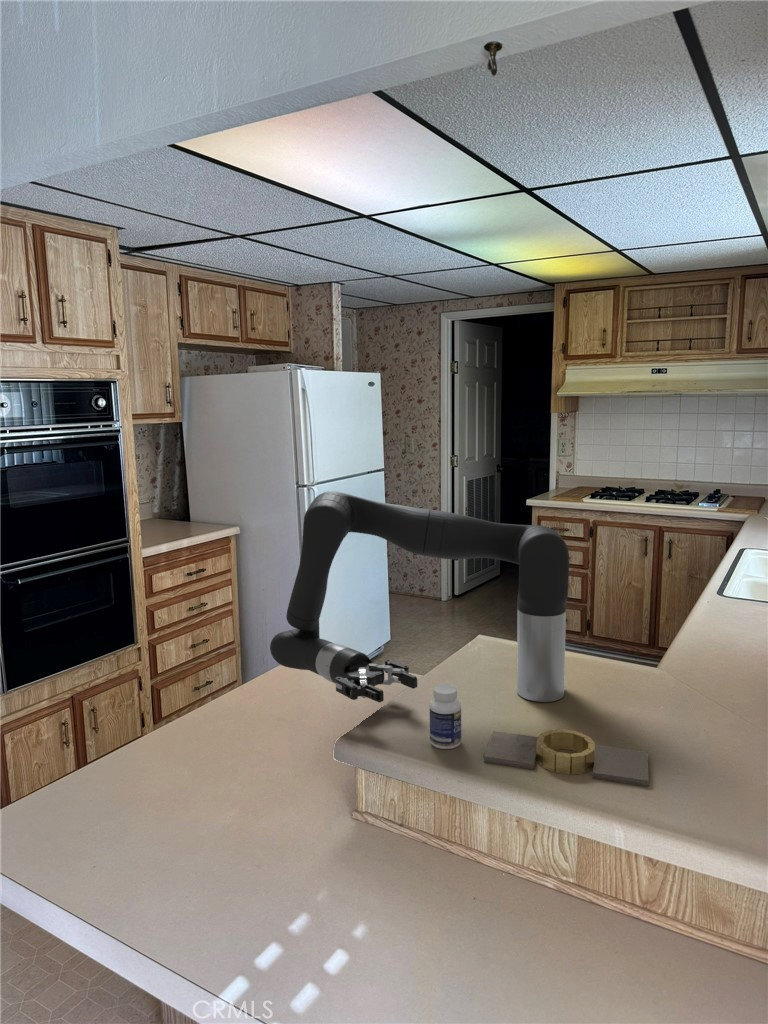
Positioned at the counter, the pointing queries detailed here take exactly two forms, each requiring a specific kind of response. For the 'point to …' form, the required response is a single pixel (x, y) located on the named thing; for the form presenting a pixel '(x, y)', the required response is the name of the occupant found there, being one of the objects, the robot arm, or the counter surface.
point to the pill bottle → (445, 717)
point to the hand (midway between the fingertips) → (399, 689)
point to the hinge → (568, 756)
